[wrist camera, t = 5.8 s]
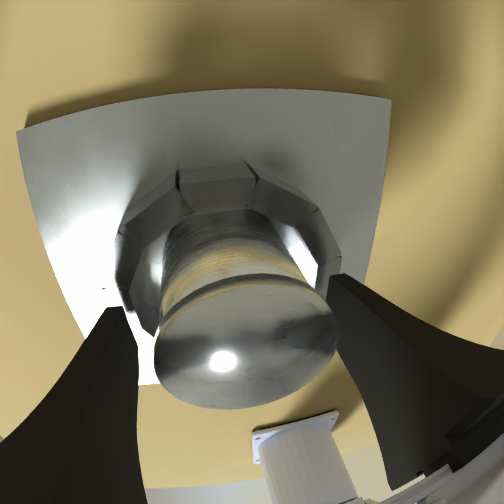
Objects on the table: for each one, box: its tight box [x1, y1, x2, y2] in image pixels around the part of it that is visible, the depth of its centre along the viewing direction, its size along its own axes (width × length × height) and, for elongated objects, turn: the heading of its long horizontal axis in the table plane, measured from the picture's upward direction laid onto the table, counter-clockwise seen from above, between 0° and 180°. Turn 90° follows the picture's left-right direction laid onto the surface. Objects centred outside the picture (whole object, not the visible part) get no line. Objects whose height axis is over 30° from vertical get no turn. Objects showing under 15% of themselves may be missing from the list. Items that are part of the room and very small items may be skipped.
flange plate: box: [16, 88, 392, 385], centre depth 12 cm, size 14×14×2 cm
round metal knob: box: [154, 209, 339, 409], centre depth 10 cm, size 5×5×5 cm
